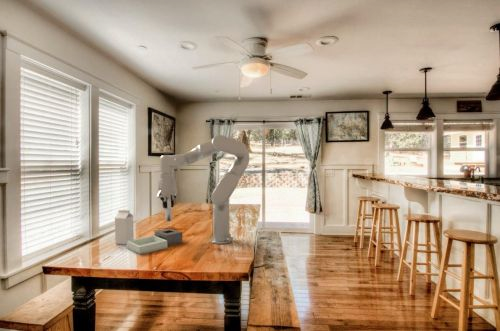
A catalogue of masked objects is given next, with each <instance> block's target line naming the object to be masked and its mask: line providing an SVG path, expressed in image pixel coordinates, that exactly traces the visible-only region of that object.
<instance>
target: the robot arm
mask: <svg viewBox="0 0 500 331" xmlns="http://www.w3.org/2000/svg"><path fill="white" fill-rule="evenodd" d="M220 152H223V153H226V154H230V155H233V157H234V160H233V162H232V163H231V165H230V167H229V169H228V170H227V172H225V173H224V174H223V175H222V176H221V179H220V180H219V182H218V183H217V185H216V186H215V188H214V189H213V191H212V192H211V196H210V200H211V202H212V226H213V227H212V232H213V233H212V235H213V236H212V237H211V238H210V243H212V244H214V245H215V244H216V245H217V244H218V245H224V244H230V243H231V242H233V239H234V237H233V236H232V235H231V233H230V198H231V196H232V195H233V193H234V192H235V190H236V189H237V187H238V184H239V182H240V180H241V178H242V176H243V175H244V173H245V171H246V170H247V168H248V166H249V163H250V152H249V150H248V148H247V146H246V144H245V143H244V142H243V141H240V140H237V139H235V138H231V137H228V136H226V135H222V134H216V135H215V136H214V137H213V138H211V139H209V140H207V141H204V142H201V143H200V144H198V145H197V146H195V148H193V149H192V150H189V151H187V152H185V153H183V154H172V155H170V154H163V155H161V156H160V159H159V160H160V161H159V162H160V165H159V166H160V168H159V170H160V178H159V179H158V185H157V195H156V198H158V199H160V200H161V202H162V208H163V209H165V208H167V201H166V196H169V195H171V207H172V208H174V205H175V203H174V201H175V200H176V198H177V197H178V196H179V192H178V186H177V181H176V178H175V177H176V176H177V174H176V173H175V168H185V167H187V166H189V165H191V164H194V163H196V162H198V161H200V160H204V159H206V158H208V157H210V156H212V155H215V154H218V153H220Z"/></svg>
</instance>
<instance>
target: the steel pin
mask: <svg viewBox="0 0 500 331" xmlns="http://www.w3.org/2000/svg"><path fill="white" fill-rule="evenodd" d="M166 201H167V208H164V213H165V214H164V215H165V222H171V221H173V214H172V210H173V209H172V208H173V207H171V195H169V196H166Z"/></svg>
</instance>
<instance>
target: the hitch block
mask: <svg viewBox="0 0 500 331" xmlns="http://www.w3.org/2000/svg"><path fill="white" fill-rule="evenodd" d="M153 232H154V235H153V236H156V237H159V238H162V239H164V240H167V247H169V246H174V245H178V244H181V243H183V232H182V231H180V230H178V229H177V230H176V229H173V228H170V227H169V228H164V229H160V230H154V231H153Z"/></svg>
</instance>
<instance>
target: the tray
mask: <svg viewBox="0 0 500 331" xmlns="http://www.w3.org/2000/svg"><path fill="white" fill-rule="evenodd" d="M126 249H127V250H129V251H131V252H132V253H135V254H137V255H139V256H141V255H145V254H148V253H153V252H156V251H160V250H165V249H168V246H167V240H164V239H162V238H159V237H156V236H155V235H149V236H144V237H140V238H134V240H130V241H127V244H126Z"/></svg>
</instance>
